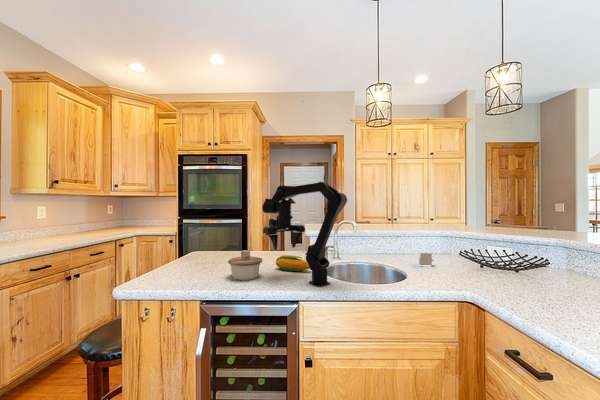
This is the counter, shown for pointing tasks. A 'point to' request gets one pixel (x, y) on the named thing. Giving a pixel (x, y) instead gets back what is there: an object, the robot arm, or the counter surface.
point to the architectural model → (425, 259)
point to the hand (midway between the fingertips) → (284, 248)
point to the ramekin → (245, 272)
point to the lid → (245, 259)
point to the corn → (291, 263)
